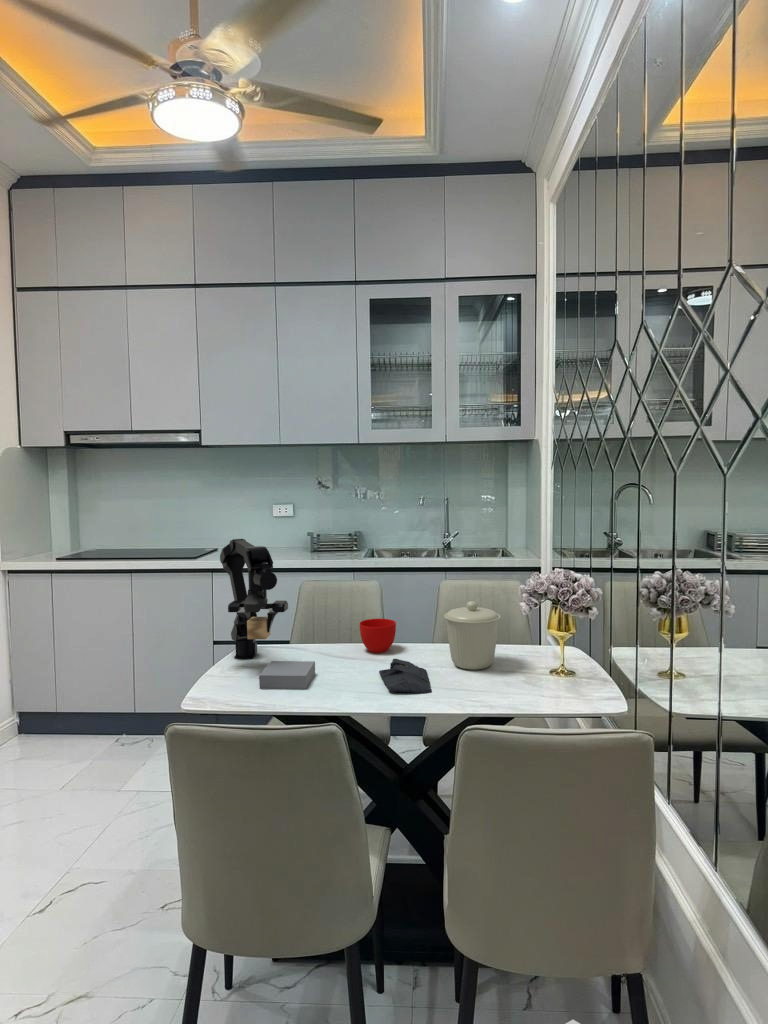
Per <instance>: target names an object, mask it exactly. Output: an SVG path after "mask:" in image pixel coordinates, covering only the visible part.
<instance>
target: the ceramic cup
mask: <svg viewBox="0 0 768 1024" xmlns="http://www.w3.org/2000/svg"><path fill="white" fill-rule="evenodd" d="M396 631H397V622H396V621H395V620H393V619H390V618H389V619H388V618H371V619H370V618H369V619H364V620H362V621H360V622H359V633H360V640H361V641H362V644H363V646H364V647H365V648H366V649H367V650H368V651H369V652H370V653H372V654H373V653H374V654H382V653H386V652H388V650H389V649H390V648H391V647H392V646H393V643H394V641H395V638H396Z"/></svg>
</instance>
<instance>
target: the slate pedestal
mask: <svg viewBox="0 0 768 1024" xmlns="http://www.w3.org/2000/svg"><path fill="white" fill-rule="evenodd" d="M315 675H316V661H314V660H310V661H309V660H308V661H307V660H304V661H302V660H298V661H297V660H294V661H293V660H271V661H270V662H269V663H268V665H266V667H265V668H264V669H263V670H262V672H260V674H259V675H258V678H259V681H258V682H259V683H258V686H259V689H262V690H264V689H265V690H266V689H267V690H268V689H269V690H274V689H275V690H307V688H308V687H309V685H310V684H311V682H312V680H313V678H314V677H315Z"/></svg>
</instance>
